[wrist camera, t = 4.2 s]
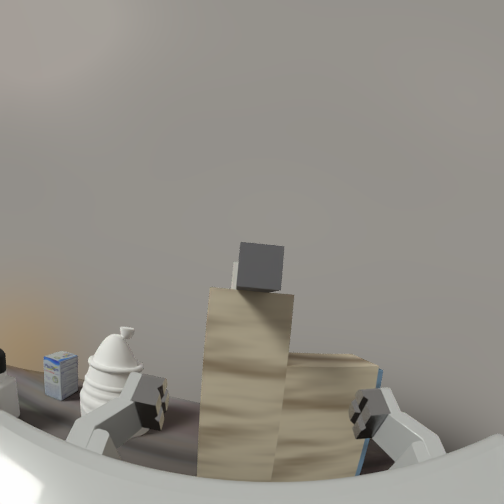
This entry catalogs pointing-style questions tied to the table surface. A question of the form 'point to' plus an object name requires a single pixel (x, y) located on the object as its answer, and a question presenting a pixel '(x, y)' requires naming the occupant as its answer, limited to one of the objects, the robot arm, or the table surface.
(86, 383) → the honey pot
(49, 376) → the medicine box
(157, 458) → the table surface
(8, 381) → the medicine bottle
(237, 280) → the dark gray bar
